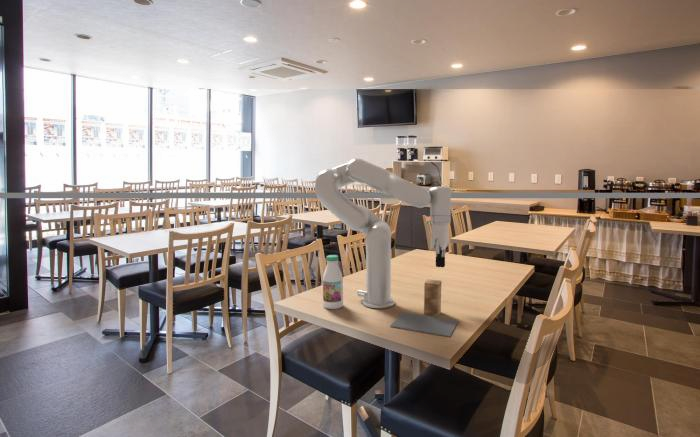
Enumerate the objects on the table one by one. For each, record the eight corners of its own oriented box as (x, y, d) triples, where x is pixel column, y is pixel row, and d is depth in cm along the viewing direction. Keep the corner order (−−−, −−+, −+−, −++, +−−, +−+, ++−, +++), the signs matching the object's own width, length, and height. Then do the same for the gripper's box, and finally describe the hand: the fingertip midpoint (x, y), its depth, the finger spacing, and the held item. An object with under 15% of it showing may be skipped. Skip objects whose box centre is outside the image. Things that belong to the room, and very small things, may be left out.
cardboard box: (424, 314, 145) (424, 282, 143) (427, 309, 150) (428, 278, 148) (437, 316, 143) (438, 284, 141) (440, 311, 147) (441, 280, 146)
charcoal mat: (390, 326, 134) (390, 325, 134) (402, 312, 147) (402, 311, 147) (450, 337, 126) (450, 336, 125) (458, 321, 138) (458, 320, 138)
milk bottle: (327, 302, 159) (326, 253, 157) (345, 303, 157) (345, 254, 154) (320, 308, 152) (319, 257, 149) (339, 310, 150) (338, 258, 147)
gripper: (434, 216, 158) (435, 261, 160) (425, 221, 145) (425, 270, 147) (454, 217, 155) (453, 262, 157) (446, 222, 141) (446, 272, 144)
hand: (440, 266), depth 152 cm, fingers closed
